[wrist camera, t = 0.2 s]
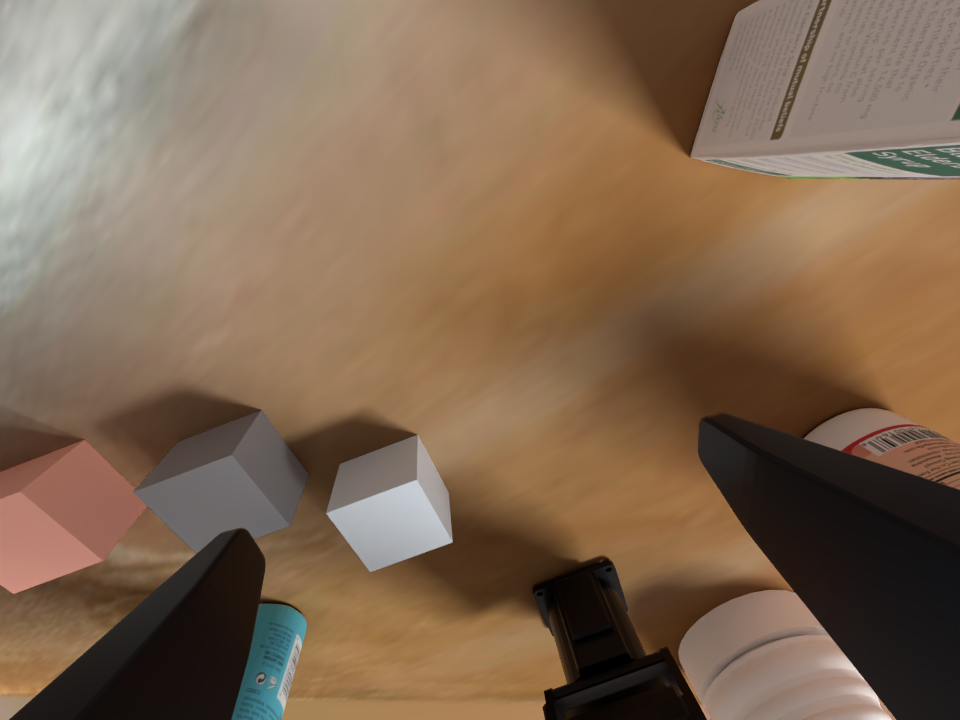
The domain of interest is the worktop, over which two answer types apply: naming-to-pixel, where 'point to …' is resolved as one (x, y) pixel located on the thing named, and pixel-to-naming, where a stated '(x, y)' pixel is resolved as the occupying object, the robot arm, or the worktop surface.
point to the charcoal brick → (226, 482)
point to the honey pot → (772, 664)
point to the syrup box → (838, 91)
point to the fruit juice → (892, 443)
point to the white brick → (391, 504)
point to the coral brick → (61, 515)
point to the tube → (270, 663)
